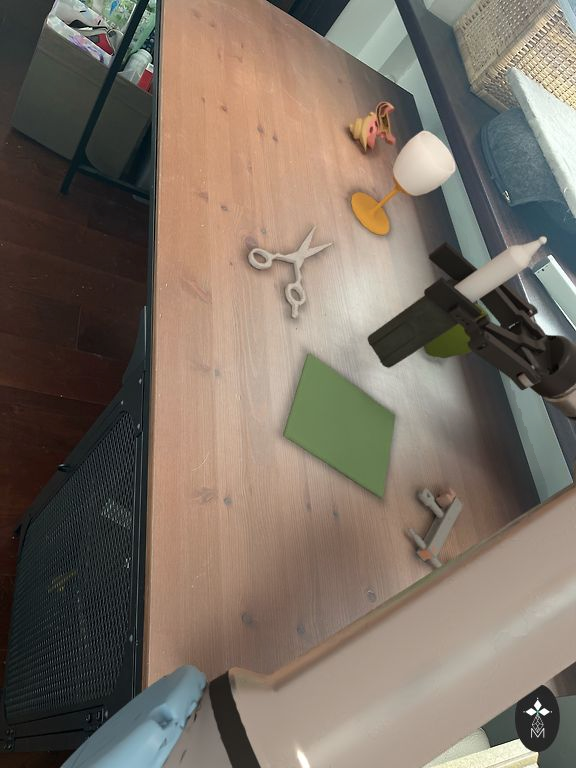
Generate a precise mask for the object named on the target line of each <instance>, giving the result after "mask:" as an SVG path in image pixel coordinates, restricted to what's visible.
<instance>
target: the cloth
mask: <svg viewBox="0 0 576 768" xmlns="http://www.w3.org/2000/svg"><path fill="white" fill-rule="evenodd" d="M395 419H396V414H395V413H393V412H392V411H391V410H389V409H388V408H387V407H385V406H384V405H382V404H381V403H379V402H378V401H377V400H375V399H374V398H373V397H371V396H370V395H369V394H367V393H366V392H365V391H363V390H361V389H360V388H359V387H357V386H356V385H354V384H353V383H352V382H351V381H349V380H348V379H346V378H345V377H343V376H342V375H340V373H338V372H337V371H335V370H334V369H332V368H331V367H329V366H328V365H327V364H325V363H324V362H322V361H321V360H320V359H319V358H317V357H315V356H314V355H312V353H310V352H309V353H307V355H306V358H305V361H304V365H303V368H302V371H301V375H300V378H299V382H298V385H297V388H296V392H295V394H294V397H293V402H292V405H291V408H290V412H289V414H288V418H287V421H286V425H285V428H284V431H283V437H285V438H286V439H288V440H290V442H291V441H292V443H295V444H296V445H297V446H299V447H301V448H302V449H304V450H305V451H307V452H309V454H311V455H313V456H314V457H316V458H318V459H319V460H320V461H322V462H323V463H325V464H326V465H328V466H330V467H332V468H333V469H334V470H336V471H337V472H339V473H341V474H342V475H344V476H345V477H347V478H348V479H349V480H351V481H353V482H355V483H356V484H357V485H359V486H361V487H362V488H364V489H365V490H367V491H369V492H370V493H371V494H373V495H375V496H376V497H378V498H379V499H383V498H384V494H385V487H386V480H387V475H388V474H387V473H388V466H389V459H390V454H391V446H392V440H393V433H394V428H395Z"/></svg>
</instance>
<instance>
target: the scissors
mask: <svg viewBox="0 0 576 768" xmlns="http://www.w3.org/2000/svg"><path fill="white" fill-rule="evenodd" d="M316 227H317V224H315V225H314V226H313V228H312V229H311V231H310V232H309V233H308V235H307V237H305V239H304V240H303V242H302V243H301V245H300V247H299V248H298V249H297V251H294V252H292V253H288V254H286V255H284V254H282V253H280V252H277V253H276V254H273V253H270V252H268V251H267V250H265V249H263V248H259V247H256V248H253V249H251V251H250V252H249V253H248V254H247V257H248V262H249V263H250V265H252V266H253V267H254V268H256V269H257V270H267V269H269V268H271V267H272V261H274V260H280V261H284V262H286V263H291V264H293V268H294V275H295V282H294V283H288V284H287V285H286V286H285V288H284V293H285V298H286V300H287V301H288V303H289V304H290V305H291V311H292V312H291V318H293V319H296V318H297V317H298V316H299V310H298V309H299V307H300V306H303V304H304V303H305V302H306V300H307V297H306V292H305V290H304V288H303V287H302V283H301V280H302V279H303V277H302V274H301V270H300V269H301V267H302V265H303V263H304V261H305V259H307V258H309V257H311V256H313V255H315V254H317V253H319V252H321V251H322V250H324V249H326V248H328V247H330V246H331V245H333V244H334V243H335V241H333V242H329V243H325V244H321V245H319V246H315V247H309V246H310V244H311V241H312V239H313V236H314V232H315V230H316ZM254 254H259V255H261V256H262V257H263V258H264V259H265V262H264V263H261V262H258V260H256V258H255V256H254ZM292 290H295V291H296V292H297V293H298V294H299V298H300V299H299V300H296V299H295V298H294V297H293V295H292Z"/></svg>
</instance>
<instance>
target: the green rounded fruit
mask: <svg viewBox="0 0 576 768" xmlns="http://www.w3.org/2000/svg"><path fill="white" fill-rule="evenodd" d="M475 305H476V306H477V307H478V308H479V309H481V310H482V315H480V316H479V317H477V318H478V319H480V318H482V317H483V316H485V315H486V314H488V313H487V311H486V310H485V309H484V308H483V307H482V306H481V305H480V304H479V303H477V302H475ZM488 316H489V315H488ZM488 316H487V317H488ZM489 318H490V321H491V322H492V320H491V317H490V316H489ZM464 329H465V328H463V327H462V326H461V325H460V324H457V325H456V326H454V327H453V328H451V329H450V330H448V331H447V332H445V333H444V334H442V335H440V336H439V337H437V338H436V339H434V340H433V341H431V342H430V343H428V344H427V345H425V346H424V347H423V349H424V351H425V353H426V354H427V355H428V356H430V357H434V358H439V359H448V358H453V357H457V356H461V355H466V354H468V353H471V352H473V351H472V350H471V349H470V348H469V347H468V344H467V343H468V341H470V337H469V336H467V334H466V333H465V331H464Z"/></svg>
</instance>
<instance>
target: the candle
mask: <svg viewBox="0 0 576 768" xmlns="http://www.w3.org/2000/svg"><path fill="white" fill-rule="evenodd" d="M547 240H548V239H547V237H546V236H540V237H539V238H538V239H537V240H533V241H529V242H528V243H525V244H516V245H514V244H513V245H511V246H509V247H507V249H505V250H504V251H502V252H501V253H499V254H498V255H496V256H495V257H493V258H492V259H491V260H489V261H488V262H485V264H483V265H482V266H481V267H479V268H477V269H478V270H477V271H475V272H474V273H472V274H471V275H469V276H468V277H467V278H465V279H464V280H462V281H461V282H459V281H458V280H454V279H452V278H451V279H449V280H446V281H447V282H449V283H450V284H451V285H452V286H453V287H455V288H456V289H457V290H458V291H459V292H460V293H462V294H463V295H464V296H465V297H466V298H468V299H469V300H470V301H471V302H472V303H473V304H475V303H476V302H477V301H478V300H480V298H481V297H483V296H484V295H486V294H487V293H489V292H490V291H492V290H493V289H495V288H496V287H498V286H499V285H501V284H502V283H504V282H505V281H506V282H507V281H508V280H510V279H511V278H513V277H515V276H517V275H518V274H519V273H520V272H522V271H523V270H525V269H526V268H527V267H528V266H529V264H530V262H531V259H532V257H533V256H534V254H536V252H537V251H538V250H539V249H540V247H541V246H542V245H546V243H547ZM457 324H459V323H457V322H456V321H455V320H454V319H452V318H451V317H450V315H449V314H447V313H446V312H445V311H444V310H443V309H441V308H440V307H439V306H438V305H436V304H435V303H434V302H433V301H432V300H430V299H429V298H428V297H427V296H425V295H424V294H423V296H421V297H420V298H418V299H417V300H416V301H415V302H413V303H412V304H410V305H409V306H407V307H406V308H405V309H404V310H402V311H401V312H399V313H398V314H396V315H395V316H394V317H392V318H391V319H390V320H388V321H386V323H384V324H383V325H381V326H380V327H378V329H376V330H374V331H373V332H372V333H370V334H369V335H368V336H367V343H368V345H369V347H371V348H372V350H373V351H374V353H375V354H376V356H377V357H378V359H379V361H380V363H381V365H382V366H383V367H384V368H392V367H394V366H395V365H397V364H399V363H400V362H402V361H403V360H405V359H407V358H408V357H410V356H411V355H413V354H414V353H416V352H417V351H419V350H420V349H422V348H424V346H425V345H427V344H428V343H430V342H431V341H433V340H434V339H436V338H437V337H439V336H440V335H442V334H444V333H445V332H447V331H448V330H450V329H451V328H453V327H454V326H456V325H457Z"/></svg>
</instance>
